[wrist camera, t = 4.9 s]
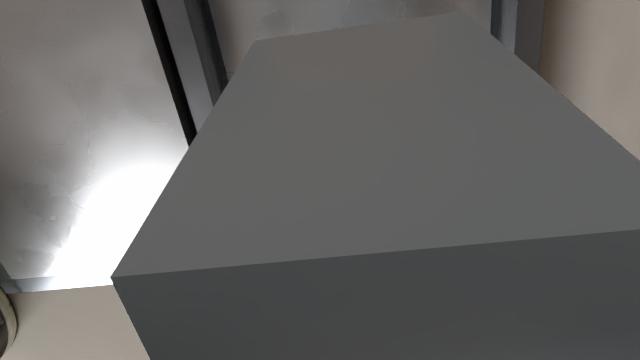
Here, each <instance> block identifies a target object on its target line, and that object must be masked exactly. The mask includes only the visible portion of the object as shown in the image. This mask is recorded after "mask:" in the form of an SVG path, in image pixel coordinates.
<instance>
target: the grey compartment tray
mask: <svg viewBox="0 0 640 360" xmlns="http://www.w3.org/2000/svg"><path fill="white" fill-rule="evenodd" d="M545 1H546V0H0V285H1V287H2V288H3V290H4V291H5V293H6V294H12V293H23V292H34V291H45V290H56V289H67V288H78V287H89V286H100V285H111V284H113V283H112V281H111V279H110V276H111V275H112V273H113V271H114V270H115V268H116V266H117V265H118V263H119V261H120V260H121V258H122V257H123V255H124V253H125V252H126V250H127V248H128V247H129V245H130V243H131V242H132V240H133V239H134V237H135V235H136V234H137V232H138V230H139V229H140V227H141V225H142V224H143V222H144V220H145V219H146V217H147V216H148V214H149V212H150V211H151V209H152V207H153V206H154V204H155V202H156V201H157V199H158V197H159V196H160V194H161V193H162V191H163V189H164V188H165V186H166V184H167V183H168V181H169V179H170V178H171V176H172V175H173V173H174V171H175V170H176V168H177V166H178V165H179V163H180V161H181V160H182V158H183V156H184V155H185V153H186V152H187V150H188V148H189V147H190V145H191V143H192V142H193V140H194V138H195V137H196V135H197V134H198V132H199V130H200V129H201V127H202V125H203V124H204V122H205V120H206V119H207V117H208V115H209V114H210V112H211V111H212V109H213V107H214V106H215V104H216V102H217V101H218V99H219V97H220V96H221V94H222V92H223V91H224V89H225V88H226V86H227V84H228V83H229V81H230V79H231V78H232V76H233V74H234V73H235V71H236V70H237V68H238V66H239V65H240V63H241V61H242V60H243V58H244V56H245V55H246V53H247V51H248V50H249V48H250V47H251V45H252V43H253V42H254V41H255V40H262V39H269V38H276V37H283V36H290V35H298V34H305V33H312V32H319V31H326V30H333V29H340V28H347V27H354V26H362V25H369V24H376V23H383V22H390V21H397V20H404V19H411V18H418V17H426V16H433V15H440V14H447V13H454V12H461V11H464V12H466V13H467V14H468V15H469V16H470V17H471V18H473V19H474V20H475V21H476V22H477V23H478V24H480V25H481V26H482V27H483V28H484V29H485V30H487V31H488V32H489V33H490V34H491V35H493V36H494V37H495V38H496V39H497V40H498V41H500V42H501V43H502V44H503V45H504V46H505V47H507V48H508V49H509V50H510V51H511V52H512V53H514V54H515V55H516V56H517V57H518V58H519V59H521V60H522V61H523V62H524V63H525V64H527V65H528V66H529V67H530V68H531V69H532V70H534V71H535V72H536V73H537V74H539V64H540V53H541V43H542V32H543V22H544V12H545Z"/></svg>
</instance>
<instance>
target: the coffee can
mask: <svg viewBox="0 0 640 360" xmlns="http://www.w3.org/2000/svg"><path fill="white" fill-rule="evenodd" d="M16 328H17V323H16V317H15V313H14V310H13V308H12V305H11V303H10V301H9V299H8V297H7V296H6V294H5V292H4V291H3V290H2V289H1V288H0V358H1V357H2V356H3V354H5V353H6V352H7V350H8V349H9V348H10V347H11V346H12V344H13V341H14V338H15V336H16Z"/></svg>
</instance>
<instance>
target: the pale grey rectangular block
mask: <svg viewBox="0 0 640 360" xmlns="http://www.w3.org/2000/svg"><path fill="white" fill-rule="evenodd" d="M110 279H111V281H112V283H113V285H114V287H115V289H116V291H117V293H118V295H119V297H120V299H121V301H122V303H123V305H124V307H125V309H126V311H127V313H128V315H129V317H130V319H131V321H132V323H133V325H134V327H135V329H136V331H137V333H138V335H139V337H140V339H141V341H142V343H143V345H144V347H145V349H146V351H147V353H148V355H149V357H150V359H151V360H640V161H639V160H638V159H637V158H636V157H634V156H633V155H632V154H631V153H630V152H629V151H627V150H626V149H625V148H624V147H623V146H622V145H620V144H619V143H618V142H617V141H616V140H614V139H613V138H612V137H611V136H610V135H609V134H607V133H606V132H605V131H604V130H603V129H602V128H600V127H599V126H598V125H597V124H596V123H595V122H593V121H592V120H591V119H590V118H589V117H588V116H586V115H585V114H584V113H583V112H582V111H580V110H579V109H578V108H577V107H576V106H575V105H573V104H572V103H571V102H570V101H569V100H568V99H566V98H565V97H564V96H563V95H562V94H561V93H559V92H558V91H557V90H556V89H555V88H554V87H552V86H551V85H550V84H549V83H548V82H546V81H545V80H544V79H543V78H542V77H541V76H539V75H538V74H537V73H536V72H535V71H534V70H532V69H531V68H530V67H529V66H528V65H527V64H525V63H524V62H523V61H522V60H521V59H519V58H518V57H517V56H516V55H515V54H514V53H512V52H511V51H510V50H509V49H508V48H507V47H505V46H504V45H503V44H502V43H501V42H500V41H498V40H497V39H496V38H495V37H494V36H493V35H491V34H490V33H489V32H488V31H487V30H485V29H484V28H483V27H482V26H481V25H480V24H478V23H477V22H476V21H475V20H474V19H473V18H471V17H470V16H469V15H468V14H467V13H466V12H464V11H461V12H454V13H447V14H440V15H433V16H426V17H418V18H411V19H404V20H397V21H390V22H383V23H376V24H369V25H362V26H354V27H347V28H340V29H333V30H326V31H319V32H312V33H305V34H298V35H290V36H283V37H276V38H269V39H262V40H255V41H254V42H253V43H252V45H251V47H250V48H249V50H248V51H247V53H246V55H245V56H244V58H243V60H242V61H241V63H240V65H239V66H238V68H237V70H236V71H235V73H234V74H233V76H232V78H231V79H230V81H229V83H228V84H227V86H226V88H225V89H224V91H223V92H222V94H221V96H220V97H219V99H218V101H217V102H216V104H215V106H214V107H213V109H212V111H211V112H210V114H209V115H208V117H207V119H206V120H205V122H204V124H203V125H202V127H201V129H200V130H199V132H198V134H197V135H196V137H195V138H194V140H193V142H192V143H191V145H190V147H189V148H188V150H187V152H186V153H185V155H184V156H183V158H182V160H181V161H180V163H179V165H178V166H177V168H176V170H175V171H174V173H173V175H172V176H171V178H170V179H169V181H168V183H167V184H166V186H165V188H164V189H163V191H162V193H161V194H160V196H159V197H158V199H157V201H156V202H155V204H154V206H153V207H152V209H151V211H150V212H149V214H148V216H147V217H146V219H145V220H144V222H143V224H142V225H141V227H140V229H139V230H138V232H137V234H136V235H135V237H134V239H133V240H132V242H131V243H130V245H129V247H128V248H127V250H126V252H125V253H124V255H123V257H122V258H121V260H120V261H119V263H118V265H117V266H116V268H115V270H114V271H113V273H112V275H111V276H110Z"/></svg>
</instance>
